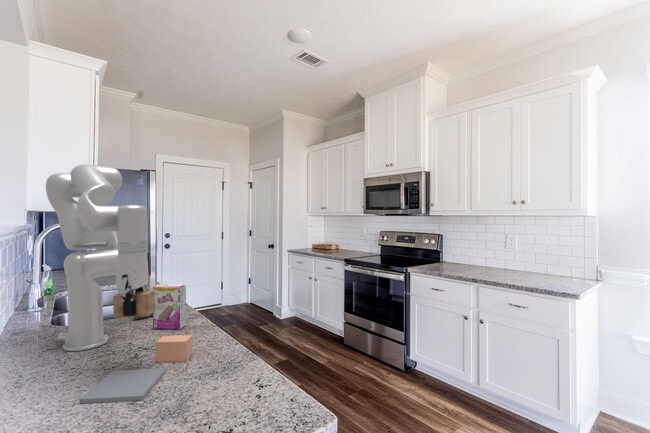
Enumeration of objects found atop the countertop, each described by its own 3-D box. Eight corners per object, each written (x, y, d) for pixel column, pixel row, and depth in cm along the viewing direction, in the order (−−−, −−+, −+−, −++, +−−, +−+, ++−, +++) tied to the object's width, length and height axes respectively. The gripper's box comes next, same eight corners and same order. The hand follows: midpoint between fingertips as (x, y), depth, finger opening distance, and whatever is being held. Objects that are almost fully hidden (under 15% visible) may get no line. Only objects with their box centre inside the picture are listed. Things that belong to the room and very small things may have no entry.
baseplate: (79, 403, 76) (79, 399, 76) (113, 374, 90) (113, 370, 90) (142, 400, 77) (142, 395, 77) (166, 371, 91) (166, 368, 91)
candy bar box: (152, 329, 125) (151, 286, 125) (159, 325, 130) (159, 283, 130) (179, 330, 124) (179, 287, 124) (186, 325, 129) (186, 284, 129)
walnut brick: (113, 317, 90) (113, 296, 90) (122, 312, 95) (121, 292, 95) (148, 315, 92) (147, 294, 92) (155, 310, 97) (154, 290, 97)
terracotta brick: (155, 362, 97) (155, 342, 97) (163, 355, 102) (162, 335, 102) (186, 361, 98) (186, 341, 98) (192, 354, 103) (192, 335, 103)
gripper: (133, 246, 102) (135, 305, 101) (102, 252, 85) (104, 322, 85) (158, 245, 102) (160, 304, 102) (132, 250, 85) (134, 320, 85)
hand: (134, 311), depth 93 cm, fingers closed on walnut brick, 5 cm apart
